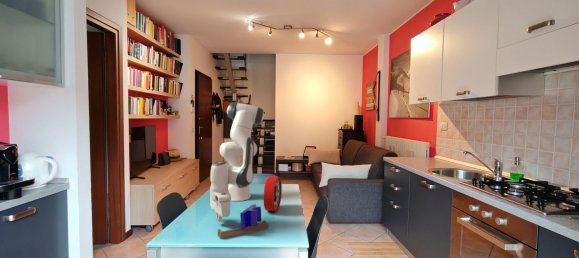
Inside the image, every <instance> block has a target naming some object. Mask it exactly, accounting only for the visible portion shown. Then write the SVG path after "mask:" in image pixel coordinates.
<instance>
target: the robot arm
mask: <svg viewBox="0 0 579 258" xmlns="http://www.w3.org/2000/svg"><path fill="white" fill-rule="evenodd" d="M226 114H227V118H229V119H231V120H232V124H231V128H230V134H229V136H230V137H229V138H230V139H231V141H226V142H222V143H221V144H220V145H219V154H220V155H221V157H222V158H223V159H225V160H219V161H218V160H217V161H214V162H213V163H212V164H211V167H210V174H209V175H210V180H209V181H210V183H211V184H210V187H209V188H210V191H209V193H210V196H209V197H210V199H209V201H210V203H209V205H210V208H211V209H212V210H213V211H215V215H216V220H217V222H219V223H221V222H222V221H223V218H228V217H230V215H231V214H230V213H231V201H232V202H242V201H247V200H249V199H250V198H251V197H252V195H251V194H250V185H251V184H252V182H253V179H254V167H253V166H254V156H255V155H256V154H257V152H258V146H257V144H256V143H255V142H254V140H253V139H252V130H253V125H260V124H261V123H262V122H263V120H264V118H265V111H264V109H263V108H262V107H257V106H255V105H252V104H247V103H240V102H234V101H233V102H230V104H229V105H228V107H227V109H226ZM241 158H242V162H241V161H240V159H241Z"/></svg>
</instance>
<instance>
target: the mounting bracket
mask: <svg viewBox="0 0 579 258" xmlns="http://www.w3.org/2000/svg"><path fill="white" fill-rule="evenodd" d="M239 214H240V217H239V218H240V228H241V229H245V228H246V227H247V226H257V224H258V223H262V222H263V219H262V206H257V205H256V204H251V205H249V206H248V207H247V208H245V209H244V210H243V211H241V212H240V213H239Z"/></svg>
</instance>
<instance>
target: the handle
mask: <svg viewBox="0 0 579 258" xmlns="http://www.w3.org/2000/svg"><path fill="white" fill-rule="evenodd" d="M268 229H269V222H268V221H266V220H263V219H262V222H259V223H257V226H247V227H246V228H245V229H241V227H237V228H232V229H227V230H221V229H220V228H219V229H217V237H218V238H219V239H220V240H222V239H227V238H231V237H236V236H241V235H246V234H250V233H255V232H258V231H263V230H268Z"/></svg>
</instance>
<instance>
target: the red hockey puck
mask: <svg viewBox="0 0 579 258" xmlns="http://www.w3.org/2000/svg"><path fill="white" fill-rule="evenodd" d="M282 186H283V185H282V179H281V177H280V176H272V175H271V176H270V175H269V176H267V178H266V179H265V183H264V187H263V197H262V198H263V200H262V201H263V208H264V210H265V211H267V212H268V211H269V212H278V211H279V209H280V206H281V202H282V194H283V192H282V191H283V189H282V188H283V187H282Z"/></svg>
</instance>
